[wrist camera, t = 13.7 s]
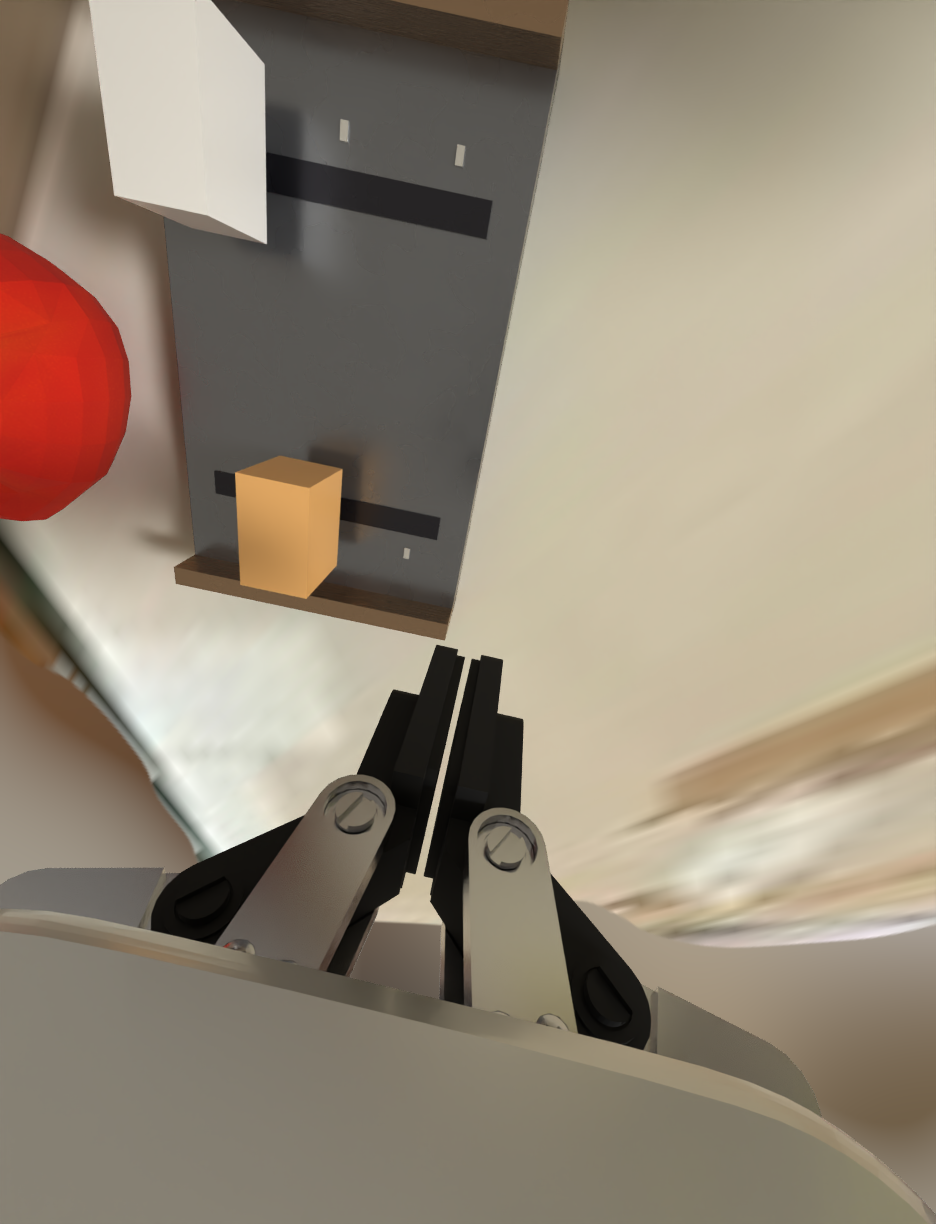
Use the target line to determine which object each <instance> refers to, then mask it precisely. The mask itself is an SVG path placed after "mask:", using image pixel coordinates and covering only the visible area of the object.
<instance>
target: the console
mask: <svg viewBox="0 0 936 1224" xmlns="http://www.w3.org/2000/svg"><path fill="white" fill-rule="evenodd" d="M211 1H212V2H213V3H214V4H215V6H216V7H217V8H218V9H219V10H220V12H221V13H222V14H223V15H224V16H225V18H226V19H227V20H228V21H229V22H230V24H231V25H232V26H233V27H234V28H235V30H236V31H237V32H238V33H239V34H240V36H241V37H242V38H243V39H244V40H245V41H246V43H247V44H248V45H249V46H250V47H251V49H252V50H253V51H254V52H255V53H256V55H257V56H258V57H259V58H260V59H261V61H262V62H263V63H264V64H265V136H266V217H267V244H263V243H258V242H254V241H249V240H244V239H240V238H235V237H230V236H226V235H221V234H216V233H212V232H207V231H202V230H198V229H193V228H190V227H188V226H185V225H183V224H181V223H178V222H176V221H173V220H171V219H169V218H166V217H164V225H165V236H166V247H167V257H168V268H169V279H170V289H171V300H172V311H173V321H174V332H175V343H176V353H177V364H178V375H179V385H180V396H181V407H182V417H183V428H184V439H185V449H186V460H187V471H188V481H189V492H190V503H191V513H192V524H193V535H194V545H195V555H194V556H192V557H190V558H189V559H187V560H185V561H183V562H182V563H180V564H178V565H177V566H175V567H174V572H175V580H176V584H180V585H185V586H189V587H194V588H199V589H204V590H208V591H213V592H218V593H222V594H227V595H232V596H237V597H241V598H246V599H251V600H256V601H260V602H265V603H270V604H275V605H279V606H284V607H289V608H294V609H298V610H303V611H308V612H312V613H317V614H322V615H327V616H331V617H336V618H341V619H346V620H350V621H355V622H360V623H365V624H369V625H374V626H379V627H384V628H388V629H393V630H398V631H402V632H407V633H412V634H417V635H421V636H426V637H431V638H436V639H440V640H445V638H446V634H447V631H448V627H449V623H450V619H451V616H452V612H453V608H454V604H455V599H456V594H457V589H458V584H459V579H460V574H461V568H462V563H463V558H464V553H465V548H466V543H467V538H468V533H469V528H470V523H471V518H472V512H473V507H474V502H475V497H476V492H477V487H478V482H479V477H480V472H481V467H482V462H483V456H484V451H485V446H486V441H487V436H488V431H489V426H490V421H491V416H492V411H493V406H494V400H495V395H496V390H497V385H498V380H499V375H500V370H501V365H502V360H503V355H504V350H505V344H506V339H507V334H508V329H509V324H510V319H511V314H512V309H513V304H514V299H515V294H516V288H517V283H518V278H519V273H520V268H521V263H522V258H523V253H524V248H525V243H526V238H527V232H528V227H529V222H530V217H531V212H532V207H533V202H534V197H535V192H536V187H537V182H538V176H539V171H540V166H541V161H542V156H543V151H544V146H545V141H546V136H547V131H548V126H549V120H550V115H551V110H552V105H553V100H554V95H555V90H556V85H557V80H558V75H559V69H560V62H561V55H562V48H563V41H564V34H565V27H566V19H567V12H568V5H569V0H211ZM278 456H285V457H289V458H294V459H299V460H303V461H308V462H313V463H318V464H322V465H327V466H332V467H336V468H341V469H343V470H342V486H341V503H340V520H339V537H338V554H337V566H336V567H335V568H334V569H333V570H332V571H331V572H330V573H329V575H328V576H327V577H326V578H325V579H324V580H323V581H322V582H321V583H320V584H319V586H318V587H317V588H316V589H315V590H314V591H313V592H312V593H311V594H310V595H309V597H308V598H307V599H305V598H300V597H295V596H290V595H286V594H281V593H276V592H272V591H267V590H262V589H257V588H253V587H248V586H243V585H240V566H239V545H238V523H237V502H236V481H235V472H237V471H240V470H243V469H245V468H248V467H251V466H254V465H256V464H259V463H262V462H264V461H267V460H270V459H272V458H275V457H278Z"/></svg>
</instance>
